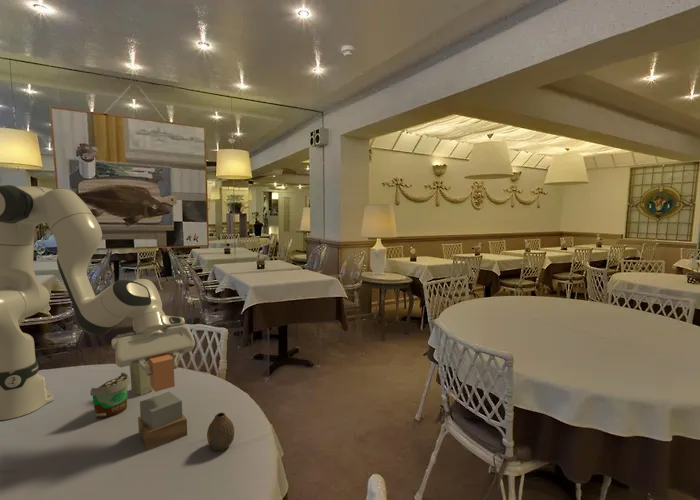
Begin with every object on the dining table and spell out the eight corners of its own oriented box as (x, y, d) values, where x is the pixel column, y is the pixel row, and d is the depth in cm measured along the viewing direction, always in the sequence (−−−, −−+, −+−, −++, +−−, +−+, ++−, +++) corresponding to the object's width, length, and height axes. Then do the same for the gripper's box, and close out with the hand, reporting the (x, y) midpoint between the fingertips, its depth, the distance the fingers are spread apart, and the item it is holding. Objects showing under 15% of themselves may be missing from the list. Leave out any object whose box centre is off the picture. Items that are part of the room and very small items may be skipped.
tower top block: (140, 418, 106) (139, 401, 105) (169, 407, 112) (168, 391, 111) (152, 429, 101) (151, 411, 100) (182, 417, 107) (181, 400, 106)
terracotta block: (150, 385, 106) (148, 357, 105) (169, 380, 109) (168, 353, 108) (155, 391, 102) (153, 363, 101) (174, 386, 105) (173, 358, 105)
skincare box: (153, 391, 132) (151, 357, 131) (140, 396, 128) (138, 361, 127) (143, 386, 135) (141, 353, 134) (130, 391, 132) (128, 357, 131)
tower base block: (138, 433, 107) (138, 417, 107) (176, 421, 114) (175, 405, 113) (148, 450, 100) (147, 432, 99) (187, 436, 106) (186, 419, 106)
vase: (219, 457, 97) (218, 424, 96) (201, 448, 100) (200, 416, 99) (240, 443, 102) (239, 412, 102) (223, 435, 106) (222, 405, 105)
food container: (109, 423, 112) (107, 390, 111) (91, 420, 113) (89, 388, 112) (140, 402, 124) (138, 373, 123) (124, 400, 125) (122, 371, 124)
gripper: (110, 330, 103) (119, 376, 96) (189, 316, 116) (201, 356, 109) (109, 342, 106) (117, 387, 100) (185, 327, 120) (197, 367, 113)
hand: (162, 371), depth 105 cm, fingers closed on terracotta block, 5 cm apart
